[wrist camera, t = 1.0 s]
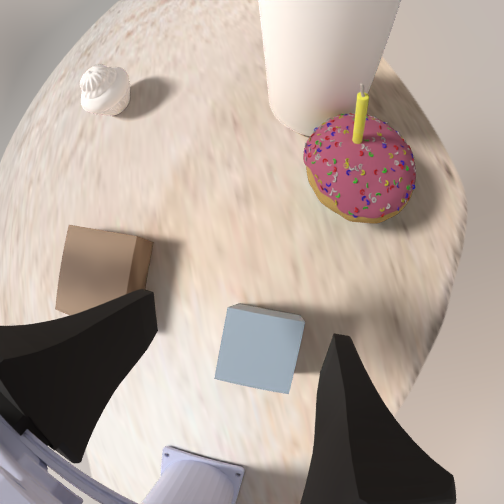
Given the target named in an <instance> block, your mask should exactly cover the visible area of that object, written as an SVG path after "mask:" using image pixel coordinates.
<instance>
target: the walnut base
mask: <svg viewBox="0 0 504 504" xmlns="http://www.w3.org/2000/svg"><path fill="white" fill-rule="evenodd" d="M152 247H153V242H151V241H148V240H145V239H143V238H140V237H138V236H133V235H127V234H121V233H115V232H109V231H103V230H97V229H91V228H85V227H79V226H73V225H69V227H68V231H67V236H66V241H65V246H64V251H63V256H62V262H61V268H60V275H59V282H58V290H57V298H56V308H55V309H56V310H59V311H61V312H63V313H66V314H68V315H74V314H77V313H79V312H82V311H85V310H88V309H90V308H93V307H96V306H98V305H101V304H103V303H106V302H108V301H111V300H113V299H116V298H118V297H120V296H123V295H125V294H128V293H131V292H133V291H136V290H139V289H144V290H145V285H146V279H147V274H148V268H149V263H150V257H151V252H152Z"/></svg>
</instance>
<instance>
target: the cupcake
mask: <svg viewBox="0 0 504 504" xmlns="http://www.w3.org/2000/svg"><path fill="white" fill-rule="evenodd" d="M360 87H361V90H360V91H361V92H359V93H358V94H357V102H356V112H355V114H352V113H348V114H340V115H338V116H335V117H333V118H328V119H327V120H326V122H324V123H323V124H322V125H320V126H319V127H318V128H317V127H316V128H315V129H316V130H315V129H314V131H313V133H312V135H311V136H310V138H309V139H308V141H307V143H305V148H304V157H303V158H304V163H305V165H306V169H307V176H308V180H309V183H310V185H311V187H312V188H313V190H314V192H315V194H316V196H317V197H318V199H319V200H320V202H321V203H322V204H324V205H325V206H326V207H328V208H329V209H331V210H332V211H334V212H335V213H337V214H339V215H341V216H342V217H344V218H345V219H347V220H348V221H352V222H362V223H380V222H383V221H385V220H387V219H389V218H391V217H393V216H395V215H397V214H398V213H399V212H400V211H401V210H402V209H403V208H404V207H405V205H406V204H407V203H408V201H409V200H410V198H411V195H412V192H413V189H415V185H414V184H415V179H416V168H415V162H414V158H413V154H412V151H411V148H410V146H409V145H407V144H406V140H405V141H404V139H403V138H402V136H401V135H400V134H399V132H397V131H395V130H394V129H392V128H391V127H390V126H388V123H387V122H383V121H381V120H379V119H377V117H376V118H375V116H374V117H372V116H371V115H370V116H368V115H366V114H367V108H368V101H369V96H368V94H367V93H365V92H364V85H363V84H362V83H361V84H360ZM386 123H387V124H386Z"/></svg>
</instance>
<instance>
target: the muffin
mask: <svg viewBox="0 0 504 504" xmlns="http://www.w3.org/2000/svg"><path fill="white" fill-rule="evenodd" d="M80 88H81V89H82V94H81V105H82V107H83V108H84V110H86V111H87V112H90V113H93V114H97V115H107V116H114V115H118V114H120V113H121V112H122V111H123V110H124V109H125V108H126V107H127V106H128V104H129V101H130V81H129V75H128V73H127V72H126V71H125V70H124V69H123V68H120V67H107V66H106V65H104V64H98V65H94V66H93V67H91V68H89V70H87V71H86V73H84V74H83V76H82V77H81V81H80Z"/></svg>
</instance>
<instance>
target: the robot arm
mask: <svg viewBox="0 0 504 504" xmlns="http://www.w3.org/2000/svg"><path fill="white" fill-rule="evenodd" d="M157 331H158V329H157V320H156V312H155V302H154V292H151V291H147V290H144V289H139V290H136V291H133V292H131V293H128V294H125V295H123V296H120V297H118V298H116V299H113V300H111V301H108V302H106V303H103V304H101V305H98V306H96V307H93V308H90V309H88V310H85V311H82V312H79V313H77V314H74V315H70V316H67V317H63V318H60V319H56V320H51V321H46V322H41V323H35V324H28V325H17V326H0V504H82V503H83V499H82V498H80V497H79V496H77V495H76V494H75V493H73V492H72V491H71V490H69V489H68V488H67V487H65V486H64V485H63V484H62V483H60V482H59V481H58V480H56V479H55V478H54V477H53V476H52V475H50V474H49V473H48V471H47V469H48V468H47V466H48V467H50V468H51V469H52V470H54V471H55V472H56V473H57V474H59V475H60V476H61V477H62V478H64V479H65V480H67V481H68V482H69V483H71V484H72V485H73V486H75V487H76V488H78V489H79V490H81V491H82V492H84V493H85V494H87V495H88V496H90V497H91V498H93V499H95V500H96V501H98V502H99V503H101V504H138V503H135V502H133V501H131V500H129V499H128V498H126V497H124V496H122V495H120V494H118V493H116V492H114V491H113V490H111V489H109V488H107V487H106V486H104V485H102V484H101V483H99V482H97V481H96V480H94V479H93V478H91V477H89V476H88V475H86V474H84V473H83V472H82V471H80V470H79V469H77V468H76V467H74V466H73V465H71V464H70V463H69V462H67V461H66V460H65V459H63V458H62V457H60V456H59V455H58V454H57V453H55V452H54V451H53V450H56V451H57V452H58V453H60V454H61V455H62V456H64V457H65V458H67V459H68V460H69V461H71V462H72V463H80V462H81V461H82V458H83V455H84V452H85V449H86V447H87V444H88V441H89V439H90V437H91V435H92V432H93V430H94V428H95V426H96V424H97V422H98V420H99V418H100V416H101V414H102V412H103V410H104V408H105V407H106V405H107V403H108V401H109V400H110V398H111V396H112V395H113V393H114V391H115V390H116V389H117V387H118V386H119V384H120V383H121V382H122V381H123V379H124V378H125V377H126V376H127V374H128V373H129V372H130V370H131V369H132V368H133V367H134V365H135V364H136V363H137V362H138V360H139V359H140V358H141V357H142V355H143V354H144V353H145V351H146V350H147V349H148V347H149V345H150V344H151V342H152V340H153V339H154V337H155V335H156V333H157ZM48 446H49V447H51V448H52V449H53V450H51V449H50V448H49V447H48ZM166 453H167V454H169V455H167V454H166ZM244 471H245V469H244V468H243V467H241V466H237V465H232V464H228V463H224V462H220V461H216V460H212V459H208V458H204V457H201V456H197V455H194V454H191V453H187V452H184V451H181V450H178V449H175V448H172V447H169V446H165V447H164V448H163V453H162V465H161V477H160V478H159V480H158V481H157V482H156V484H155V485H154V486H153V488H152V489H151V491H150V492H149V493H148V495H147V496H146V497H145V499H144V500H143V501H142V503H141V504H235V503H236V500H237V496H238V493H239V489H240V486H241V482H242V479H243V475H244ZM236 473H239V474H240V475H237V474H236ZM455 503H456V490H455V482H454V477H453V475H452V474H450V473H449V472H448V471H446V470H445V469H444V468H443V467H441V466H440V465H439V464H437V463H436V462H435V461H434V460H433V459H431V458H430V457H429V456H428V455H427V454H426V453H425V452H424V451H423V450H422V449H421V448H420V447H419V446H418V445H417V444H416V443H415V442H414V441H413V440H412V438H411V437H410V436H409V435H408V434H407V433H406V432H405V431H404V429H403V428H402V427H401V426H400V424H399V423H398V422H397V421H396V419H395V418H394V417H393V415H392V414H391V412H390V411H389V409H388V408H387V407H386V405H385V403H384V402H383V400H382V399H381V397H380V395H379V394H378V392H377V390H376V388H375V387H374V385H373V383H372V381H371V379H370V377H369V375H368V373H367V372H366V370H365V368H364V366H363V363H362V361H361V359H360V357H359V355H358V353H357V351H356V348H355V346H354V344H353V341H352V339H351V338H350V336H345V335H339V334H334V335H333V338H332V341H331V343H330V346H329V349H328V352H327V355H326V358H325V360H324V363H323V366H322V369H321V371H320V377H319V384H318V390H317V400H316V419H315V435H314V446H313V454H312V459H311V463H310V468H309V473H308V477H307V481H306V485H305V489H304V493H303V496H302V500H301V503H300V504H455Z"/></svg>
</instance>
